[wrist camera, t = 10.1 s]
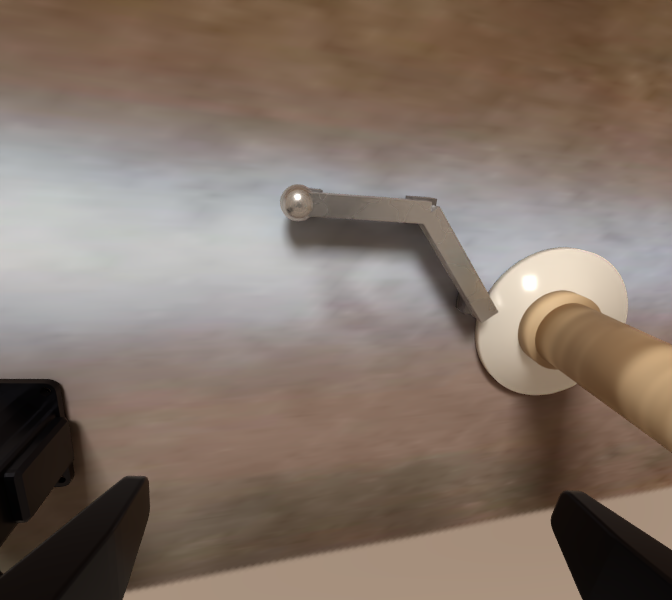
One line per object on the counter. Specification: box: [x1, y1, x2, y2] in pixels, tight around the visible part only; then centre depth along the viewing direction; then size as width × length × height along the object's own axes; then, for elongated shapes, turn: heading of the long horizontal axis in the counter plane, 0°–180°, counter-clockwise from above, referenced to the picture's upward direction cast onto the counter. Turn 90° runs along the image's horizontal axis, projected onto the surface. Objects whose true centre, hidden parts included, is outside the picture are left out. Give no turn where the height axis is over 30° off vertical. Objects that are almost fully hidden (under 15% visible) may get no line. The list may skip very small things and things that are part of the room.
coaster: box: [475, 247, 628, 395], centre depth 23 cm, size 9×9×1 cm
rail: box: [280, 184, 498, 323], centre depth 19 cm, size 11×6×2 cm, turn 86°
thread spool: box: [518, 290, 672, 453], centre depth 16 cm, size 5×5×13 cm
